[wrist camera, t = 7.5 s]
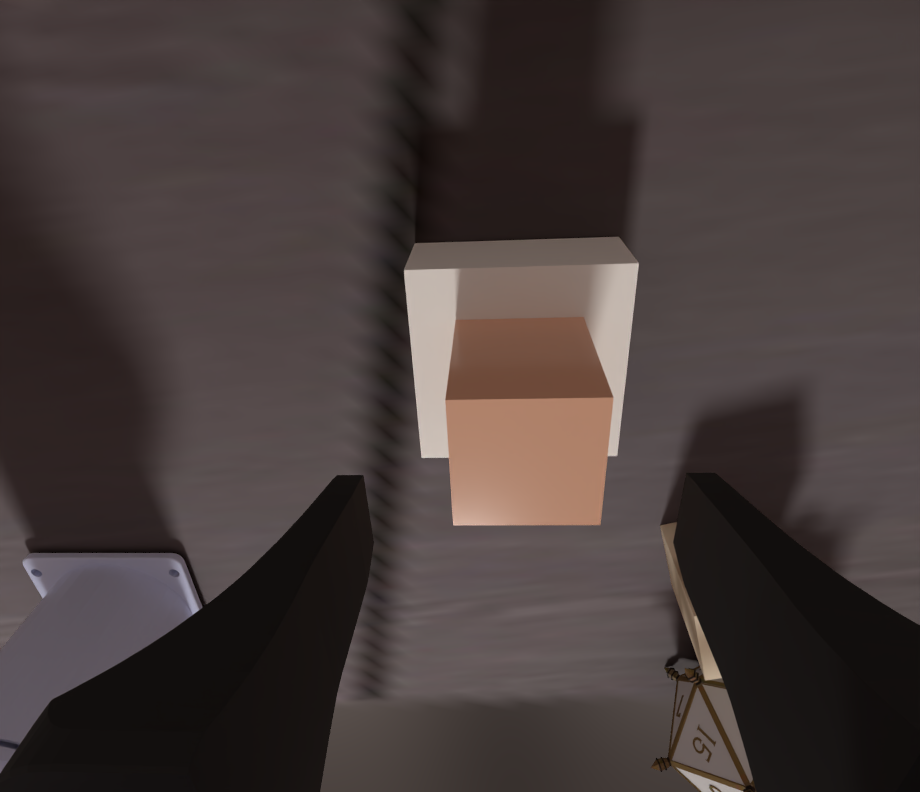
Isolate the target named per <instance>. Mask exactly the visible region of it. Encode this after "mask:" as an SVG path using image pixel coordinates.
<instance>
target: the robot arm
mask: <svg viewBox="0 0 920 792" xmlns="http://www.w3.org/2000/svg"><path fill="white" fill-rule="evenodd" d="M373 544H374V541H373V534H372V528H371V521H370V515H369V509H368V502H367V496H366V489H365V483H364V477H363V475H337V476H336V477H335V478H334V479H333V480H332V481H331V482H330V483H329V484H328V486H327V487H326V488H325V489H324V490H323V491H322V493H321V494H320V495H319V496H318V497H317V498H316V500H315V501H314V502H313V503H312V504H311V505H310V507H309V508H308V509H307V510H306V511H305V512H304V513H303V515H302V516H301V517H300V518H299V519H298V520H297V521H296V522H295V523H294V524H293V525H292V527H291V528H290V529H289V530H288V531H287V532H286V533H285V534H284V535H283V536H282V537H281V538H280V539H279V541H278V542H277V543H276V544H275V545H274V546H273V547H271V548H270V549H269V550H268V551H267V552H266V553H265V554H264V555H263V556H262V557H261V558H260V559H259V560H258V561H257V562H256V563H255V564H254V565H253V566H252V567H251V568H250V569H249V570H248V571H247V572H246V573H244V574H243V575H242V576H241V577H240V578H239V579H238V580H237V581H235V582H234V583H233V584H232V585H231V586H229V587H228V588H227V589H226V590H225V591H223V592H222V593H221V594H220V595H219V596H217V597H216V598H215V599H214V600H212V601H211V602H210V603H208V604H207V605H206V606H204V607H202V605H201V602H200V599H199V597H198V594H197V592H196V589H195V586H194V584H193V581H192V579H191V576H190V574H189V571H188V568H187V566H186V563H185V561H184V559H183V558H182V557H181V556H180V555H178V554H176V553H30V554H28V555H27V556H26V557H25V558H24V559H23V566H24V567H25V569H26V571H27V572H28V574H29V576H30V578H31V579H32V581H33V583H34V584H35V586H36V588H37V590H38V591H39V593H40V595H41V596H42V598H43V599H42V600H41V601H40V603H39V604H38V605H37V606H36V607H35V609H34V610H33V611H32V612H31V613H30V615H29V616H28V617H27V618H26V619H25V621H24V622H23V623H22V624H21V625H20V627H19V628H18V629H17V630H16V632H15V633H14V634H13V635H12V636H11V638H10V639H9V640H8V641H7V642H6V644H5V645H4V646H3V647H2V648H1V650H0V792H320V788H321V782H322V776H323V771H324V764H325V758H326V753H327V747H328V741H329V735H330V729H331V724H332V718H333V713H334V707H335V702H336V697H337V692H338V688H339V684H340V680H341V675H342V672H343V668H344V665H345V661H346V658H347V654H348V651H349V647H350V644H351V640H352V637H353V633H354V630H355V626H356V623H357V619H358V616H359V612H360V608H361V605H362V601H363V598H364V594H365V590H366V587H367V583H368V577H369V571H370V565H371V558H372V551H373ZM673 544H674V548H675V552H676V556H677V560H678V564H679V568H680V571H681V575H682V579H683V582H684V586H685V588H686V591H687V593H688V596H689V598H690V601H691V603H692V606H693V608H694V611H695V613H696V616H697V618H698V621H699V623H700V626H701V628H702V630H703V633H704V635H705V638H706V640H707V643H708V645H709V648H710V650H711V652H712V655H713V657H714V660H715V662H716V665H717V667H718V669H719V672H720V674H721V677H722V679H723V682H724V685H725V688H726V690H727V693H728V696H729V699H730V702H731V705H732V708H733V712H734V715H735V718H736V722H737V725H738V728H739V732H740V735H741V738H742V742H743V745H744V749H745V752H746V756H747V760H748V763H749V767H750V770H751V774H752V778H753V781H754V785H755V789H756V792H920V625H918V624H916V623H915V622H913V621H911V620H909V619H908V618H906V617H904V616H902V615H901V614H899V613H898V612H896V611H894V610H893V609H891V608H889V607H888V606H886V605H884V604H883V603H881V602H880V601H878V600H877V599H875V598H874V597H872V596H871V595H869V594H868V593H866V592H865V591H863V590H861V589H860V588H858V587H857V586H855V585H854V584H852V583H851V582H849V581H848V580H846V579H845V578H844V577H842V576H841V575H839V574H838V573H836V572H835V571H834V570H832V569H831V568H830V567H828V566H827V565H826V564H824V563H823V562H822V561H820V560H819V559H818V558H816V557H815V556H814V555H812V554H811V553H810V552H808V551H807V550H806V549H804V548H803V547H802V546H801V545H799V544H798V543H797V542H796V541H794V540H793V539H792V538H791V537H789V536H788V535H787V534H786V533H784V532H783V531H782V530H781V529H780V528H778V527H777V526H776V525H775V524H774V523H772V522H771V521H770V520H769V519H768V518H767V517H765V516H764V515H763V514H762V513H761V512H760V511H758V510H757V509H756V508H755V507H754V506H753V505H751V504H750V503H749V502H748V501H747V500H746V499H745V498H743V497H742V496H741V495H740V494H739V493H738V492H737V491H735V490H734V489H733V488H732V487H731V486H730V485H729V484H727V483H726V482H725V481H724V480H723V479H722V478H720V477H719V476H718V475H717V474H716V473H686V478H685V483H684V488H683V494H682V499H681V504H680V509H679V514H678V520H677V525H676V530H675V535H674V540H673Z"/></svg>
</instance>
